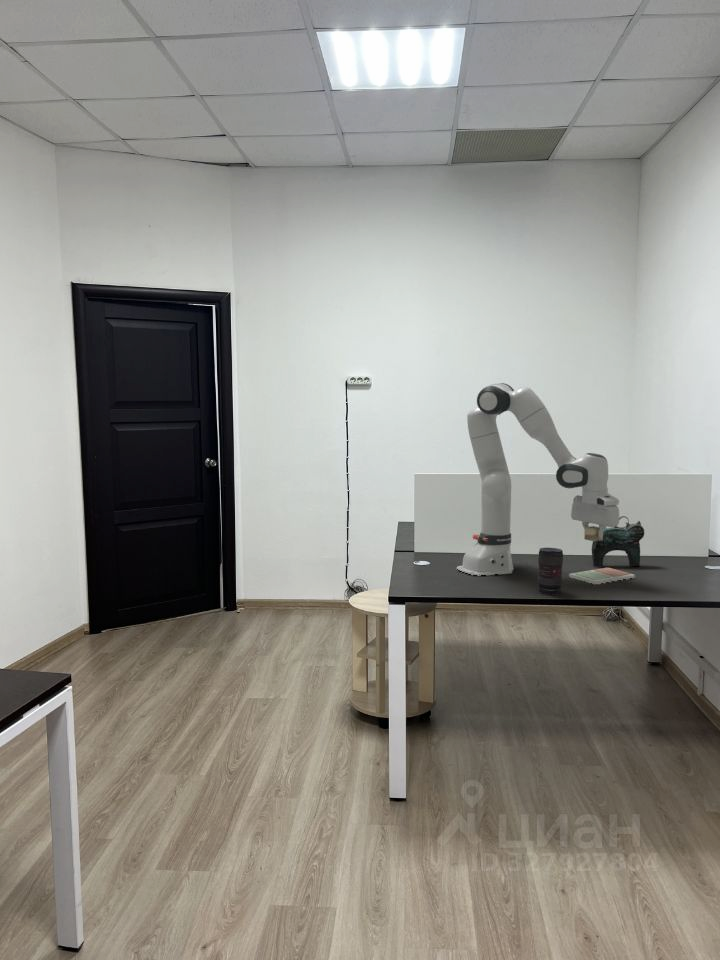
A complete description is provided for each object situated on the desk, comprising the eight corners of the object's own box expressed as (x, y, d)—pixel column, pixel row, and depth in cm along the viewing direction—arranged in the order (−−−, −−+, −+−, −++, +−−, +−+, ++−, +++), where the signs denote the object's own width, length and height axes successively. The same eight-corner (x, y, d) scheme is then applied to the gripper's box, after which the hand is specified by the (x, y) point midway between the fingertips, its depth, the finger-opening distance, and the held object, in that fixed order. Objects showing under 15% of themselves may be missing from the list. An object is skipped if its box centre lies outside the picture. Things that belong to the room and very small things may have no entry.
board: (595, 584, 260) (595, 580, 259) (569, 576, 271) (569, 572, 271) (634, 578, 269) (635, 573, 269) (607, 570, 280) (608, 566, 280)
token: (593, 541, 263) (594, 529, 262) (584, 539, 267) (584, 527, 266) (602, 540, 265) (603, 527, 265) (593, 538, 269) (593, 526, 268)
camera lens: (565, 594, 247) (566, 551, 245) (542, 595, 246) (543, 552, 244) (557, 588, 255) (558, 546, 253) (534, 589, 254) (535, 547, 252)
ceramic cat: (639, 564, 291) (641, 515, 288) (645, 568, 284) (647, 517, 282) (589, 564, 291) (591, 515, 289) (594, 568, 285) (596, 517, 282)
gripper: (567, 495, 272) (566, 531, 273) (609, 501, 254) (608, 540, 255) (580, 494, 275) (579, 530, 276) (622, 500, 257) (621, 539, 258)
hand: (593, 535), depth 266 cm, fingers closed on token, 4 cm apart
